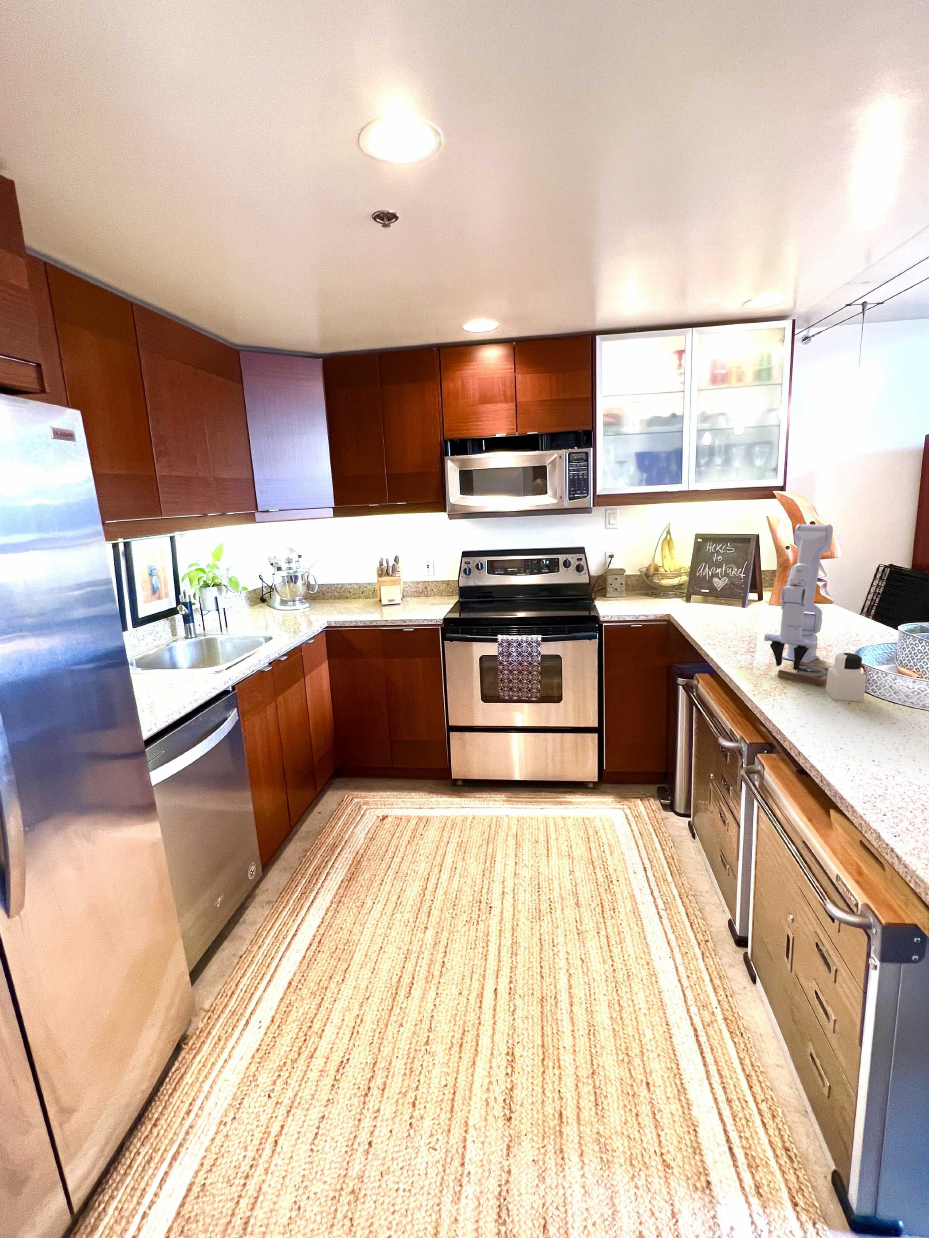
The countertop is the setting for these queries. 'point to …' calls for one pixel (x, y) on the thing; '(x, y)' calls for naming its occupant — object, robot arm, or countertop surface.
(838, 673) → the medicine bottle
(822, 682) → the cradle
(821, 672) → the ring
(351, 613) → the countertop surface
